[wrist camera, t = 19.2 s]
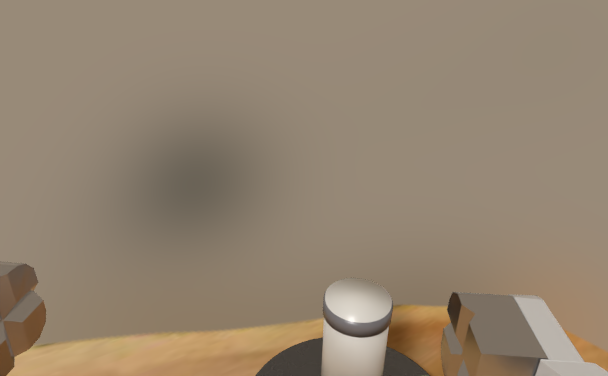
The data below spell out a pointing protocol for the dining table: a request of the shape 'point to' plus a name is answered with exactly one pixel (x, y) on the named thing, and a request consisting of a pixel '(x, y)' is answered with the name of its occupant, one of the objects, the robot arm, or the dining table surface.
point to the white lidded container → (355, 328)
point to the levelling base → (308, 362)
